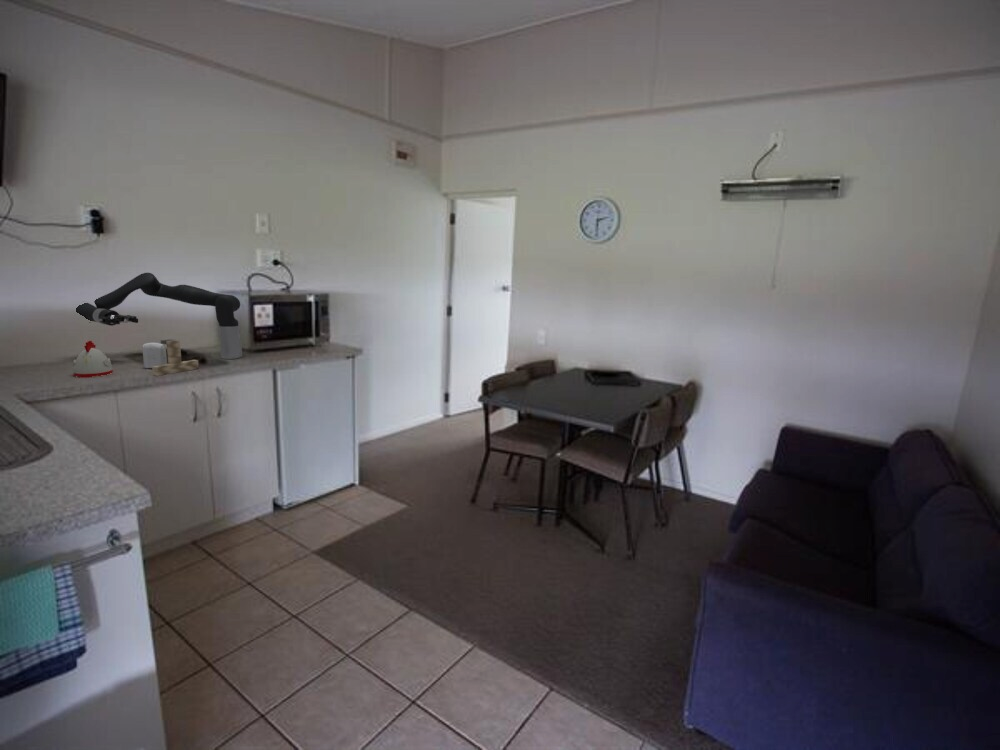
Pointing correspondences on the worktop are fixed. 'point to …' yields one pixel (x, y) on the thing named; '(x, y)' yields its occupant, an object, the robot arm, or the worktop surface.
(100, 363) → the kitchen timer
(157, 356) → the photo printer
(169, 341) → the retention stand
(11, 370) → the worktop surface
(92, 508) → the worktop surface
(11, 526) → the worktop surface
